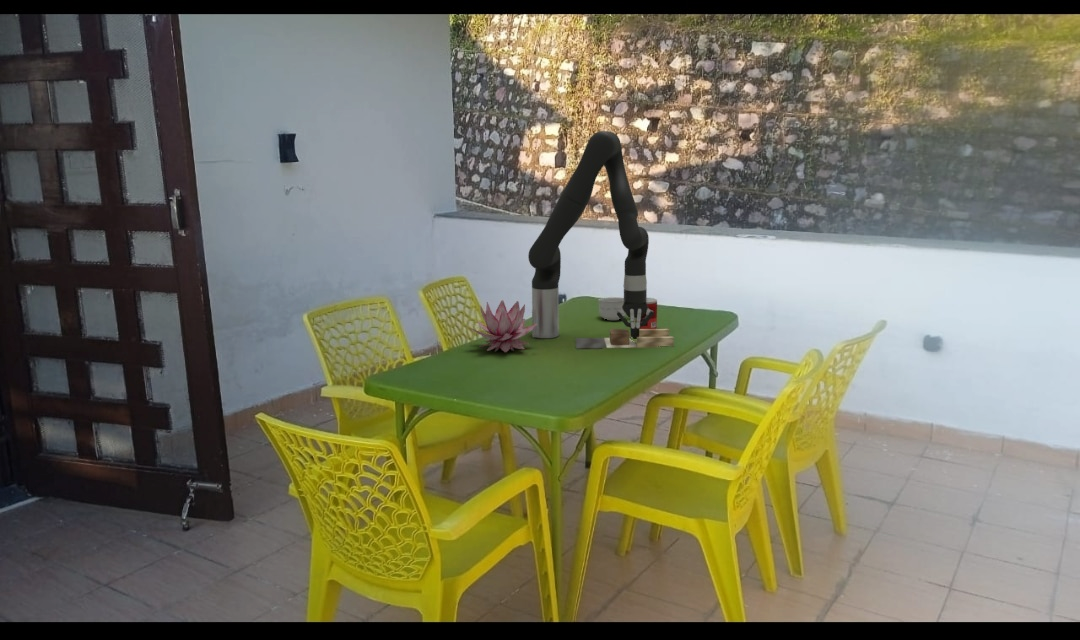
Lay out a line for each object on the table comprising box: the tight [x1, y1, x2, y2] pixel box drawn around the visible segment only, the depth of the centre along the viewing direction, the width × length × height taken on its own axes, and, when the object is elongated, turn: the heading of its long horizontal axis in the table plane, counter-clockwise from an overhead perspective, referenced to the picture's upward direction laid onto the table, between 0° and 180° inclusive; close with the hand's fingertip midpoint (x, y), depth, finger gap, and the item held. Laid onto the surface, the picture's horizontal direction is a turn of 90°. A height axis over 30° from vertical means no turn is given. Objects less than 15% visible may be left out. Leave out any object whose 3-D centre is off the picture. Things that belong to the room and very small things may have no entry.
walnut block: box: [609, 328, 630, 345], centre depth 271 cm, size 6×6×4 cm
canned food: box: [634, 297, 658, 329], centre depth 289 cm, size 8×8×11 cm
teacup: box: [598, 296, 627, 321], centre depth 306 cm, size 14×11×8 cm
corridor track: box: [574, 328, 675, 350], centre depth 272 cm, size 32×13×3 cm, turn 90°
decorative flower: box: [470, 300, 537, 354], centre depth 265 cm, size 21×21×15 cm
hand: (634, 338), depth 272 cm, fingers closed
